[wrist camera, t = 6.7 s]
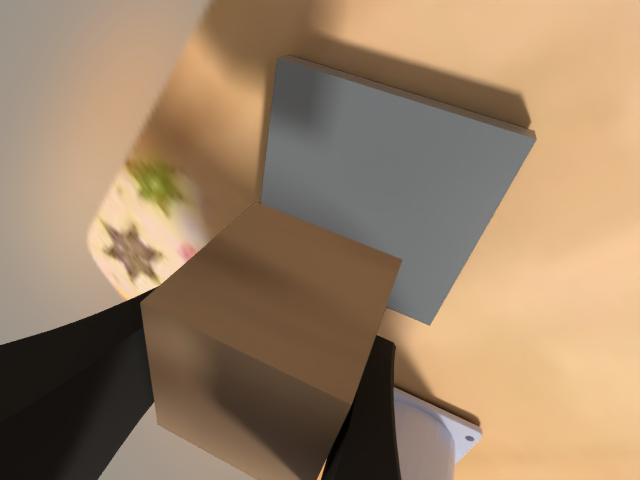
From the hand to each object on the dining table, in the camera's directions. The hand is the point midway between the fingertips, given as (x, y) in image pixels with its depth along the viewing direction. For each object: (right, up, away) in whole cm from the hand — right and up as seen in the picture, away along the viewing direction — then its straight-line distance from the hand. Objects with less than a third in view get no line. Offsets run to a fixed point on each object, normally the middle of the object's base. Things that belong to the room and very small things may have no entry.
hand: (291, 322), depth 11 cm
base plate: (+3, +4, +7) cm, 8 cm away
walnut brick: (+1, +1, +1) cm, 1 cm away
